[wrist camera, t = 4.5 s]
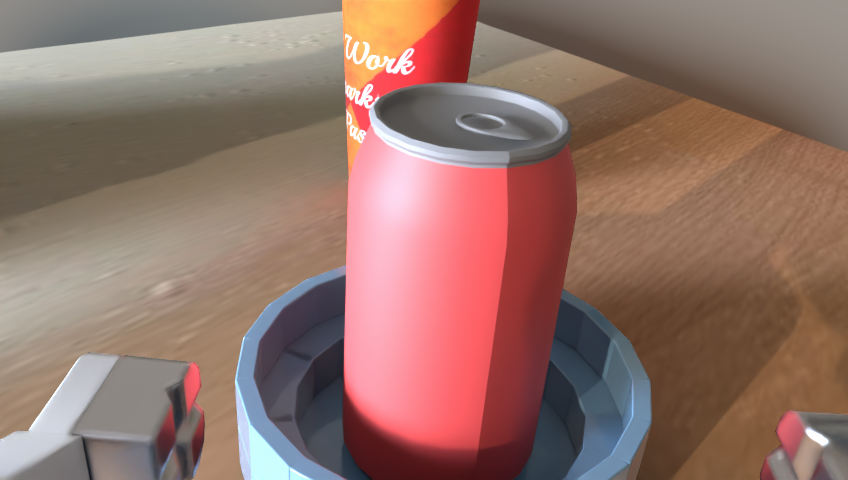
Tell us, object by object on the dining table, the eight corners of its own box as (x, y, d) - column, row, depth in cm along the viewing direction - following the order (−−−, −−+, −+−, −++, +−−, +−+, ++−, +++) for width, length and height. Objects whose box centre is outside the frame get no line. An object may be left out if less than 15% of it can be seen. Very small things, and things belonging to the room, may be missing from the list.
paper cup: (310, 179, 46) (310, -75, 39) (424, 161, 49) (442, -75, 42) (368, 240, 40) (380, -46, 33) (492, 215, 43) (526, -49, 37)
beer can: (461, 552, 23) (511, 187, 17) (301, 447, 26) (298, 110, 21) (564, 434, 28) (632, 116, 22) (418, 357, 31) (443, 62, 25)
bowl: (211, 371, 30) (204, 284, 28) (511, 314, 35) (523, 236, 33) (300, 688, 20) (300, 585, 18) (710, 544, 25) (744, 450, 23)
